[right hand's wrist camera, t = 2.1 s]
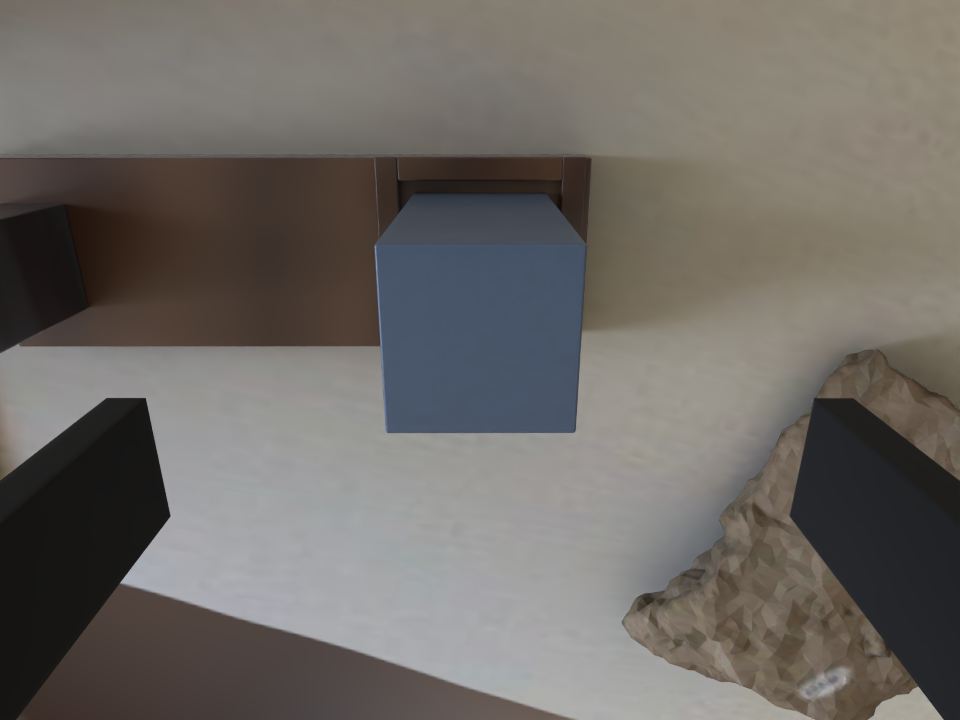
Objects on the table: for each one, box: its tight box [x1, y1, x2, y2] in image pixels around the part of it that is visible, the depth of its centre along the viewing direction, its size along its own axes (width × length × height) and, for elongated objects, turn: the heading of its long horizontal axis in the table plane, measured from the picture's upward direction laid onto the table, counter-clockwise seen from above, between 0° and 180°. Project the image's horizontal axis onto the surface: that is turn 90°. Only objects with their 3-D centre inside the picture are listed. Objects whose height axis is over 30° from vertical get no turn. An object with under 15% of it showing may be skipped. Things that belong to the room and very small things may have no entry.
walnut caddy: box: [0, 155, 591, 353], centre depth 27 cm, size 28×9×10 cm, turn 90°
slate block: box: [375, 192, 587, 433], centre depth 25 cm, size 6×6×12 cm
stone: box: [622, 350, 960, 720], centre depth 36 cm, size 21×15×6 cm
